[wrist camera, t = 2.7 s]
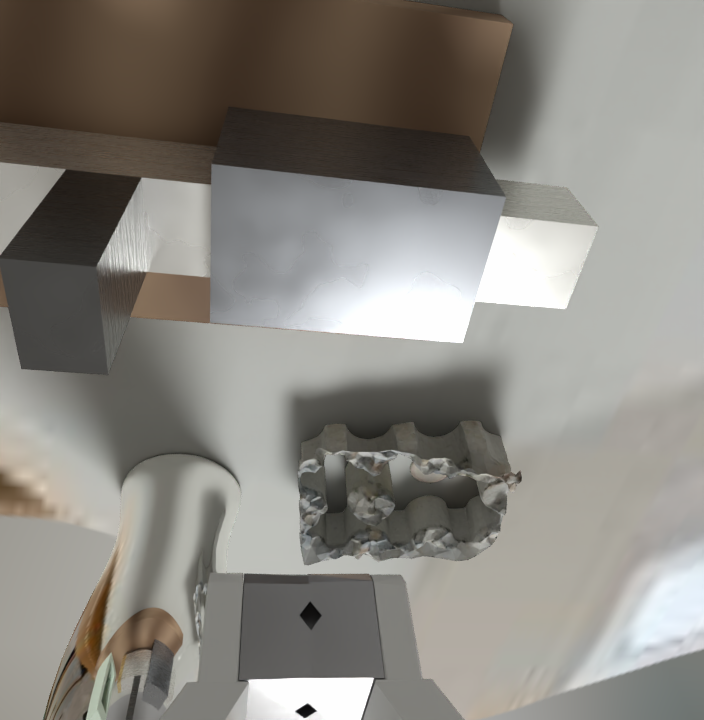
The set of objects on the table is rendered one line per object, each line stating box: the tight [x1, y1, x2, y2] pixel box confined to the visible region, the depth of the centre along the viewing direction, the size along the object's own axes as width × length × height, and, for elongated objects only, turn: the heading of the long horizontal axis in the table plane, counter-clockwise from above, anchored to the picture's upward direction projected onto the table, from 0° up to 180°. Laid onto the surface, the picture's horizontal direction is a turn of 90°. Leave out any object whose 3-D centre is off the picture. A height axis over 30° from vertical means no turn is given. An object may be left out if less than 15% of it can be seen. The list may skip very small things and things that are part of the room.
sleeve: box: [210, 106, 506, 343], centre depth 21 cm, size 8×5×5 cm, turn 82°
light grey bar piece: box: [0, 122, 599, 375], centre depth 18 cm, size 21×3×8 cm, turn 82°
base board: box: [0, 0, 513, 341], centre depth 22 cm, size 29×12×2 cm, turn 82°
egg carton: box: [298, 420, 522, 565], centre depth 32 cm, size 11×8×4 cm
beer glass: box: [43, 454, 241, 720], centre depth 28 cm, size 7×7×15 cm
